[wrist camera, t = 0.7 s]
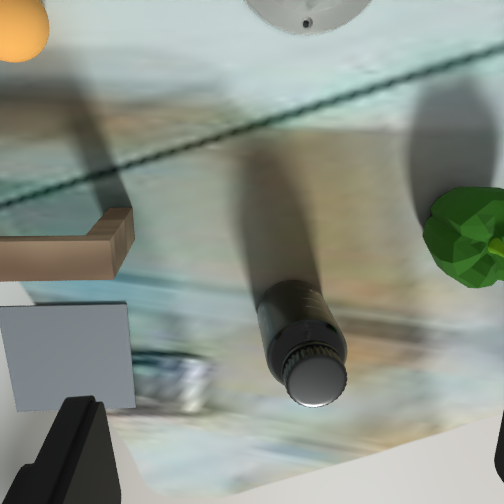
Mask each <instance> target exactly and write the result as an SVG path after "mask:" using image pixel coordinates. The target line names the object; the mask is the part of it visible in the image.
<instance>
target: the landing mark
mask: <svg viewBox="0 0 504 504" xmlns="http://www.w3.org/2000/svg"><path fill="white" fill-rule="evenodd" d="M0 328H1V333H2V338H3V343H4V348H5V353H6V358H7V363H8V368H9V373H10V378H11V383H12V388H13V393H14V398H15V403H16V408H17V412H28V411H56V410H60V408H61V406H62V403H63V401H64V400H65V398H67V397H76V396H89V395H92V396H94V397H95V399H96V402H99V401H102V402H103V403H104V406H105V409H113V408H136V401H135V390H134V379H133V367H132V356H131V345H130V334H129V323H128V312H127V304H84V305H35V306H0Z"/></svg>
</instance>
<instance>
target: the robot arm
mask: <svg viewBox="0 0 504 504" xmlns="http://www.w3.org/2000/svg"><path fill="white" fill-rule="evenodd" d="M244 1H245V3H246V4H247V5H248V6H249V7H250V9H251V10H252V11H253V12H254V13H255V14H256V15H257V16H258V17H260V18H261V19H262V20H263V21H264V22H266V23H267V24H269V25H271V26H273V27H275V28H277V29H278V30H281V31H284V32H288V33H291V34H297V35H315V34H322V33H326V32H329V31H332V30H334V29H337V28H339V27H341V26H343V25H345V24H347V23H348V22H350V21H351V20H352V19H354V18H355V17H356V16H358V15H359V14H360V13H361V12H362V11H363V10H364V9H365V8H366V7H367V6H368V5H369V4H370V3H371V2H372V0H244ZM304 21H307V22H308V24H309V25H308V27H307V28H305V27H304V26H303V22H304ZM494 462H495V468H496V471H497V473H498V475H499V476H500V478H501V479H502V481H503V482H504V412H503V417H502V422H501V427H500V432H499V437H498V443H497V448H496V452H495V458H494ZM2 504H121V489H120V484H119V478H118V473H117V468H116V463H115V458H114V452H113V447H112V442H111V437H110V432H109V426H108V421H107V416H106V411H105V406H104V403H103V402H102V401H99V402H96V399H95V397H94V396H92V395H89V396H76V397H67V398H65V400H64V401H63V403H62V406H61V408H60V410H59V412H58V414H57V416H56V418H55V420H54V422H53V424H52V427H51V429H50V431H49V433H48V435H47V437H46V439H45V441H44V443H43V446H42V448H41V450H40V452H39V454H38V456H37V458H36V460H35V462H34V463H33V464H25V465H24V466H23V467H21V469H20V470H19V472H18V473H17V475H16V477H15V479H14V481H13V483H12V485H11V487H10V489H9V491H8V493H7V495H6V497H5V499H4V501H3V503H2Z"/></svg>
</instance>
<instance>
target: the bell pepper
mask: <svg viewBox="0 0 504 504" xmlns="http://www.w3.org/2000/svg"><path fill="white" fill-rule="evenodd" d="M430 210H431V213H432V216H431V217H430V218H429V219H428V220H427V221H426V223H425V227H424V232H423V238H424V241H425V243H426V245H427V247H428V249H429V251H430V253H431V255H432V257H433V259H434V260H435V262H436V264H437V266H438V267H439V268H440V269H441V270H443V271H444V272H445V273H446V274H447V275H449V276H450V277H452V278H454V279H455V280H457V281H458V282H460V283H462V284H463V285H465V286H467V287H468V288H482V287H487V286H492V285H493V284H494V283H495V282H496V281H497V280H502V281H504V189H502V188H494V187H458V188H454V189H452V190H451V191H449V192H447V193H445V194H444V195H442V196H440V197H439V198H438V199H437V200H436V201H435V203H434V204H433V205H432V206H431V207H430Z"/></svg>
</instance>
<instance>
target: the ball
mask: <svg viewBox="0 0 504 504" xmlns="http://www.w3.org/2000/svg"><path fill="white" fill-rule="evenodd" d="M48 36H49V21H48V16H47V13H46V11H45V8H44V6H43V5H42V3H41V1H40V0H0V60H2V61H6V62H24V61H27V60H30V59H32V58H34V57H35V56H37V55H38V54H39V53H40V52H41V51H42V50H43V48H44V47H45V45H46V43H47V40H48Z"/></svg>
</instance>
